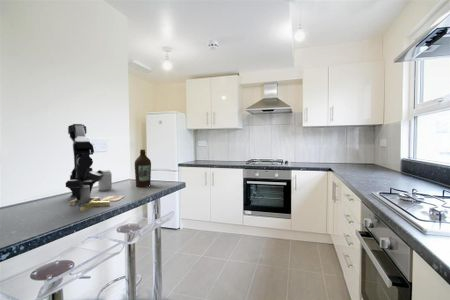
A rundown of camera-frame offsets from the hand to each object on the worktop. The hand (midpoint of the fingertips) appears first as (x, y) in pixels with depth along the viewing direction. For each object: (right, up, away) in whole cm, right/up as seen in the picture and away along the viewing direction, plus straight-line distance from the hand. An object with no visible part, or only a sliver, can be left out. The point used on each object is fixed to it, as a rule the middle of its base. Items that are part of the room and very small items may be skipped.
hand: (84, 197), depth 109 cm
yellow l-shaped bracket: (+9, -3, -6) cm, 12 cm away
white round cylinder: (0, -3, 0) cm, 3 cm away
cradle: (0, -3, +2) cm, 4 cm away
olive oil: (+14, -1, +42) cm, 45 cm away
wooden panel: (+9, -3, +9) cm, 13 cm away
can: (-7, -2, +32) cm, 32 cm away
